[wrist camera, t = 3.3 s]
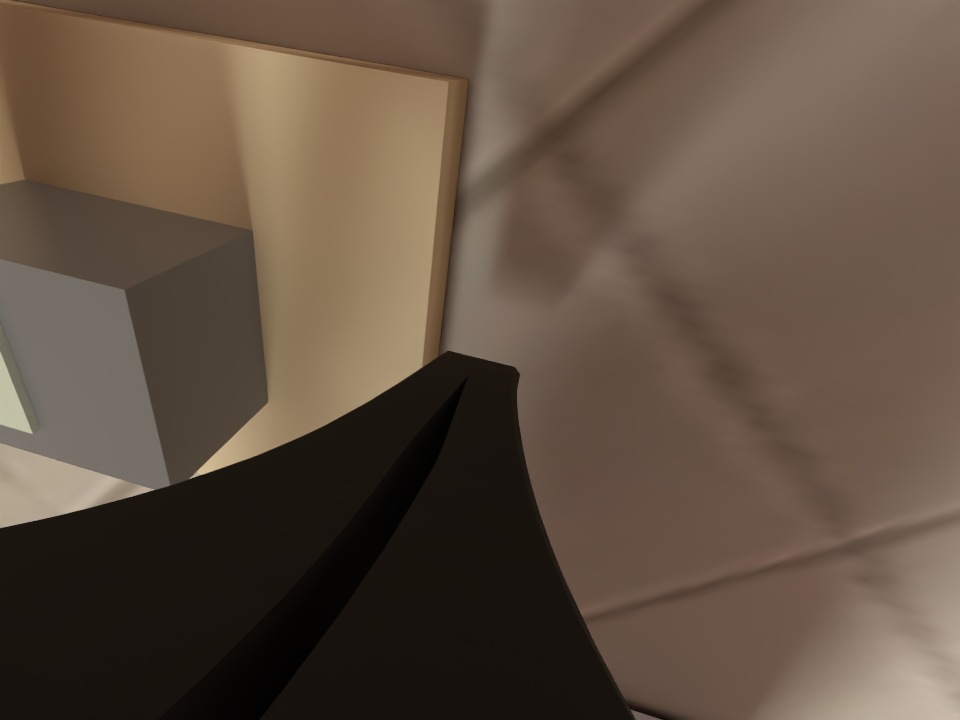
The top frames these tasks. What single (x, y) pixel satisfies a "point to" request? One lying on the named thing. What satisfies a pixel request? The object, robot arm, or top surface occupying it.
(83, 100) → the plywood board
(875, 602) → the top surface
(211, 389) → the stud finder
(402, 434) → the robot arm
